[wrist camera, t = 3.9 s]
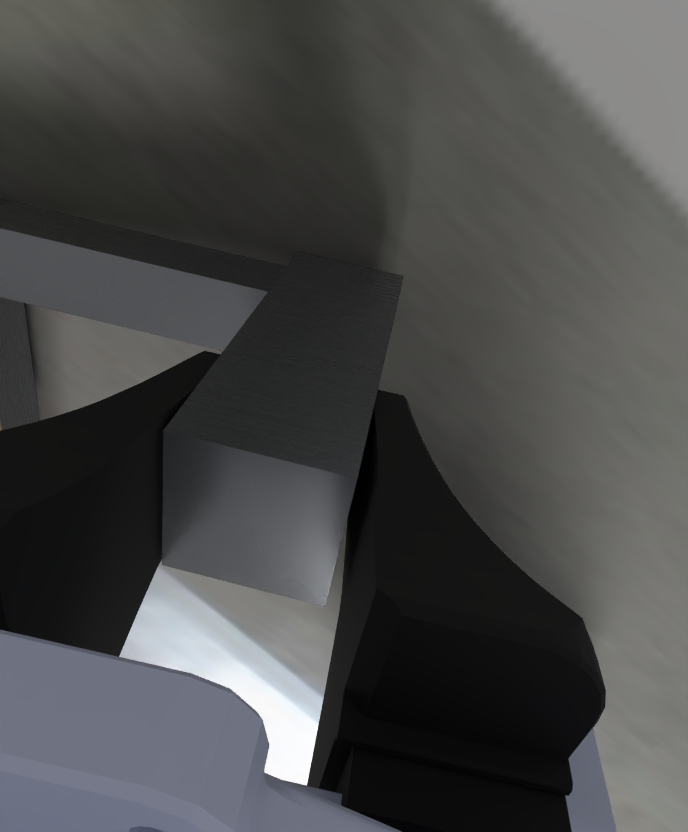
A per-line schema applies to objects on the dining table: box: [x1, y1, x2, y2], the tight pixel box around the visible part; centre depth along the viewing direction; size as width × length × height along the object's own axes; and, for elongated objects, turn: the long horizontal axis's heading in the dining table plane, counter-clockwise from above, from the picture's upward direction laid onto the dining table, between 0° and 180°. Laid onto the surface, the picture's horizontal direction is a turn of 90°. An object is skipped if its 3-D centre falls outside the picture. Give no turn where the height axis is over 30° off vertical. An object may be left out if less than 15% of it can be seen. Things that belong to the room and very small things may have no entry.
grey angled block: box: [0, 199, 404, 607], centre depth 15 cm, size 14×8×9 cm, turn 80°
